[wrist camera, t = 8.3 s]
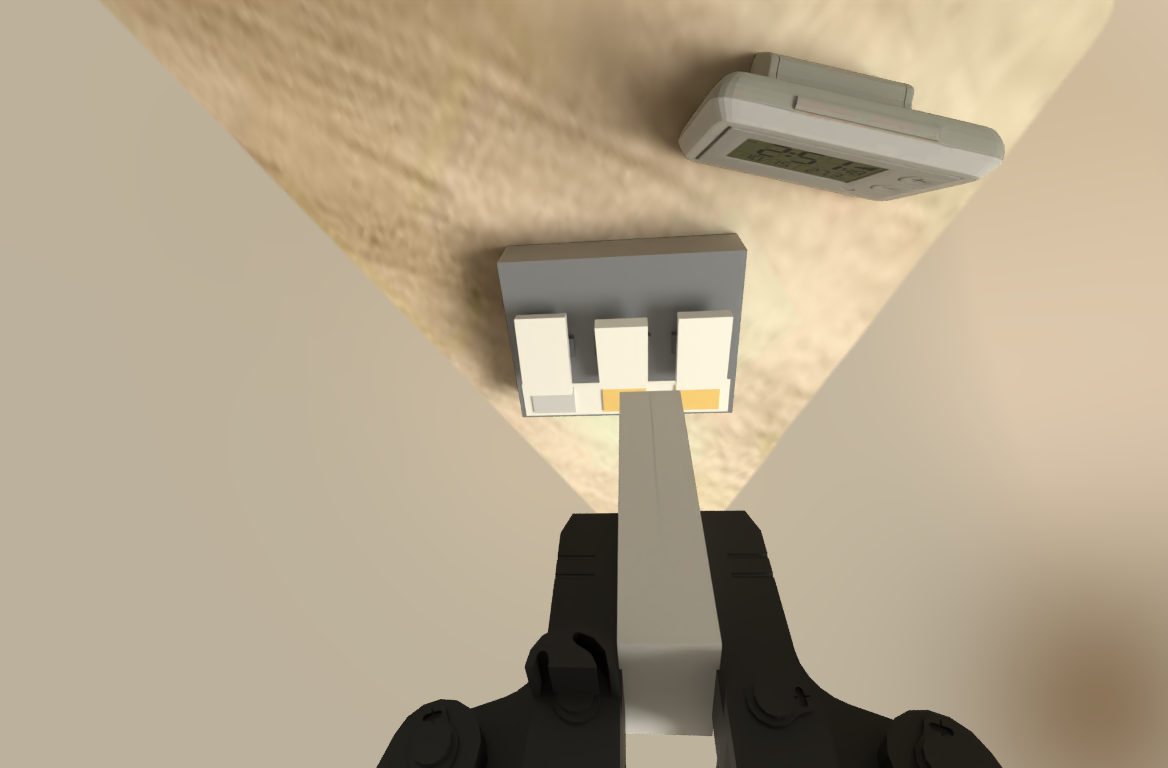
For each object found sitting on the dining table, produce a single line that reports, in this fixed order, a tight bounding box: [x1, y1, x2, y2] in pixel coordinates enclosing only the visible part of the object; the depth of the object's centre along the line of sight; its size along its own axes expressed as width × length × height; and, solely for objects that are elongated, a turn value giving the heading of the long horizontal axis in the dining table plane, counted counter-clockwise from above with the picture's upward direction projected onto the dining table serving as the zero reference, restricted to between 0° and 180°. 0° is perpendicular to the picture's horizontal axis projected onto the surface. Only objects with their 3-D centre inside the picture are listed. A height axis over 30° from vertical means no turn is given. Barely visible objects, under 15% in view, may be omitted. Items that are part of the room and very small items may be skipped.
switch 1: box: [514, 313, 573, 396], centre depth 41 cm, size 6×4×2 cm, turn 4°
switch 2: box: [594, 317, 648, 390], centre depth 40 cm, size 6×4×2 cm, turn 5°
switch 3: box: [675, 310, 733, 390], centre depth 39 cm, size 6×4×2 cm, turn 4°
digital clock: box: [678, 52, 1005, 201], centre depth 32 cm, size 16×9×11 cm, turn 68°
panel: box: [497, 234, 747, 417], centre depth 43 cm, size 14×18×5 cm
